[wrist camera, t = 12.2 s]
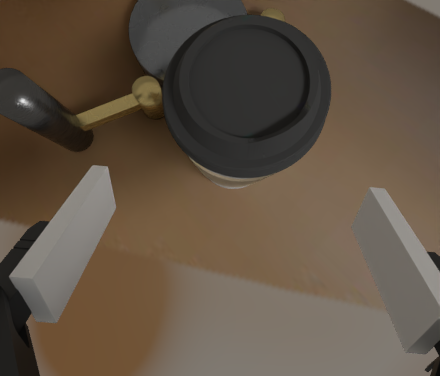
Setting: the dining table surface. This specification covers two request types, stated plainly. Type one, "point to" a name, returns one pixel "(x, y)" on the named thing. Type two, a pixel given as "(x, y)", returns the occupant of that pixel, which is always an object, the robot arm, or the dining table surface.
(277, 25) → the coffee cup
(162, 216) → the dining table surface
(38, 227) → the robot arm
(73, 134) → the lever
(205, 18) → the plate
